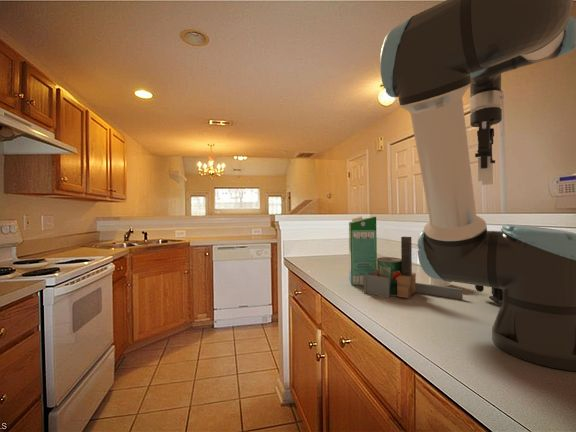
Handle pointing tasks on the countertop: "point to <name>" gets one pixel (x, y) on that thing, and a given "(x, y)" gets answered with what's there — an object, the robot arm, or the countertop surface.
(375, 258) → the milk carton
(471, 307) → the countertop surface
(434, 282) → the white cup
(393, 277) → the canned tomato
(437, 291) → the frame
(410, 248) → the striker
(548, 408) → the countertop surface
